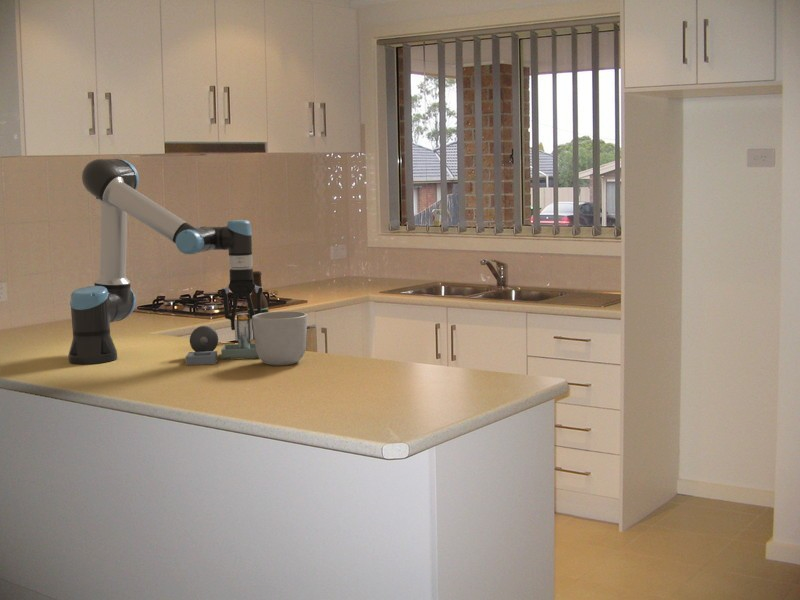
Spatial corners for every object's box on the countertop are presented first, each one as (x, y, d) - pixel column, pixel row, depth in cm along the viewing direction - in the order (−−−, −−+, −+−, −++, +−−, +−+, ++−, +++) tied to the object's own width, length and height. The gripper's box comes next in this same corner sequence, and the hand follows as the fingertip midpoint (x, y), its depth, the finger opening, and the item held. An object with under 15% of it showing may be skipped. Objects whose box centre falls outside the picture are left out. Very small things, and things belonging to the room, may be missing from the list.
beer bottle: (265, 339, 360) (263, 272, 357) (245, 339, 362) (242, 272, 358) (272, 336, 368) (270, 270, 364) (252, 335, 369) (249, 270, 366)
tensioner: (186, 365, 316) (184, 333, 314) (191, 355, 332) (190, 325, 331) (215, 363, 317) (213, 332, 315) (219, 354, 333) (218, 324, 332)
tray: (221, 359, 324) (221, 350, 324) (224, 353, 334) (223, 344, 334) (266, 357, 325) (265, 348, 325) (267, 352, 335) (267, 343, 335)
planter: (319, 362, 316) (318, 313, 314) (278, 370, 303) (276, 320, 301) (284, 356, 327) (282, 309, 325) (242, 364, 315) (240, 316, 313)
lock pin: (237, 352, 327) (236, 315, 326) (238, 349, 331) (237, 313, 330) (250, 351, 328) (249, 314, 326) (251, 349, 332) (249, 313, 330)
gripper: (213, 270, 322) (216, 342, 325) (267, 268, 323) (270, 340, 326) (215, 267, 329) (218, 338, 332) (268, 266, 330) (271, 336, 333)
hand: (244, 339), depth 329 cm, fingers closed on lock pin, 4 cm apart
